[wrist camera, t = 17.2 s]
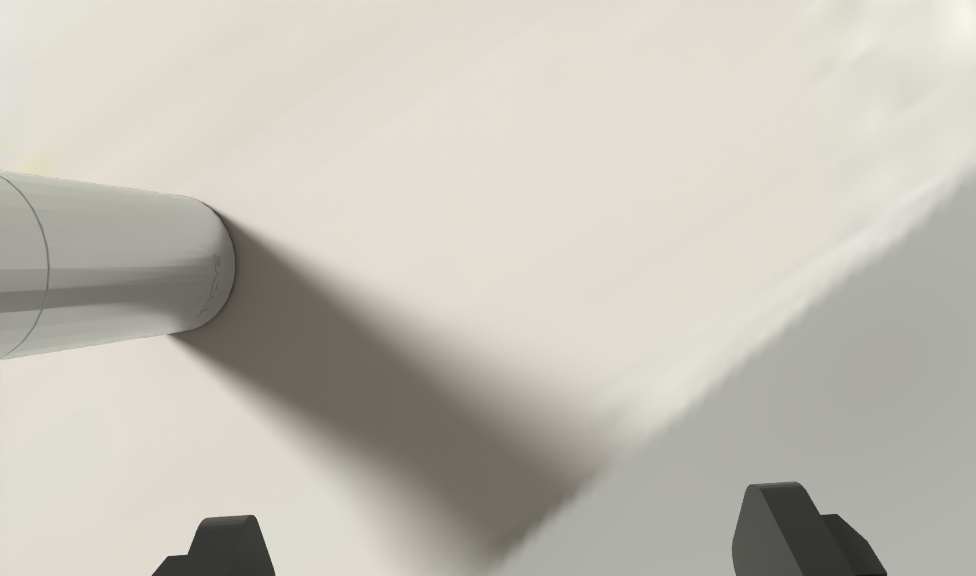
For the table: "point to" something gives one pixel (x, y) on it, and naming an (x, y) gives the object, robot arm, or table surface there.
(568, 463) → the table surface
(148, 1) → the table surface
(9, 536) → the table surface
